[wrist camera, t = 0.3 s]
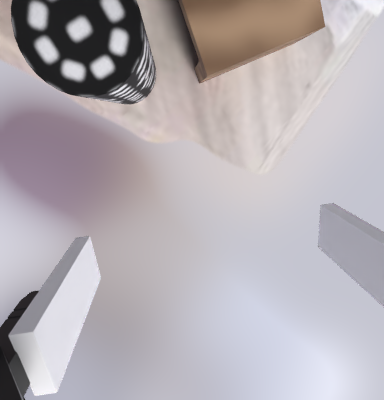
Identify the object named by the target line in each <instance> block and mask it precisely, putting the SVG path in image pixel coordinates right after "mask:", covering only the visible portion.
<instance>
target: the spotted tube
mask: <svg viewBox="0 0 384 400" xmlns="http://www.w3.org/2000/svg"><path fill="white" fill-rule="evenodd" d="M11 21H12V26H13V31H14V36H15V39H16V41H17V44H18V47H19V49H20V51H21V53H22V55H23V56H24V58H25V60H26V61H27V63H28V64H29V65H30V67H31V68H32V69H33V70H34V72H35V73H36V74H37V75H38V76H39V77H41V78H42V79H43V80H44V81H45V82H46V83H48V84H49V85H51V86H53V87H54V88H56V89H58V90H60V91H62V92H65V93H67V94H70V95H75V96H80V97H86V98H92V99H98V100H103V101H109V102H115V103H121V104H134V103H138V102H140V101H142V100H143V99H144V98H146V97H147V96H148V95H149V93H150V92H151V90H152V89H153V87H154V84H155V79H156V68H155V63H154V60H153V56H152V52H151V49H150V45H149V42H148V38H147V34H146V31H145V27H144V23H143V20H142V16H141V13H140V9H139V6H138V4H137V2H136V0H12V5H11Z"/></svg>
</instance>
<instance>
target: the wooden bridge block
mask: <svg viewBox="0 0 384 400" xmlns="http://www.w3.org/2000/svg"><path fill="white" fill-rule="evenodd" d="M179 3H180V6H181V9H182V12H183V15H184V18H185V21H186V24H187V27H188V29H189V32H190V35H191V38H192V41H193V44H194V47H195V50H196V53H197V56H198V59H199V62H198V64H197V65H196V67H195V72H196V75H197V77H198V80H199V83H202V82H204V81H206V80H209V79H211V78H214V77H216V76H218V75H221V74H223V73H225V72H228V71H230V70H232V69H235V68H237V67H240V66H242V65H244V64H247V63H249V62H251V61H254V60H256V59H259V58H261V57H263V56H266V55H268V54H270V53H273V52H275V51H278V50H280V49H282V48H285V47H287V46H289V45H292V44H294V43H296V42H298V41H299V40H301V39H303V38H305V37H307V36H309V35H311V34H312V33H314V32H316V31H318V30H320V29H322V28H323V27H325V23H324V18H323V13H322V7H321V2H320V0H179Z"/></svg>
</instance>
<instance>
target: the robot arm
mask: <svg viewBox="0 0 384 400" xmlns="http://www.w3.org/2000/svg"><path fill="white" fill-rule="evenodd" d="M318 247H319V248H320V249H321V250H322V251H323V252H324V253H325V254H326V255H327V256H328V257H330V258H331V259H332V260H333V261H334V262H335V263H336V264H337V265H338V266H339V267H340V268H342V269H343V270H344V271H345V272H346V273H347V274H348V275H349V276H350V277H351V278H352V279H354V280H355V281H356V282H357V283H358V284H359V285H360V286H361V287H362V288H363V289H364V290H365V291H366V292H368V293H369V294H370V295H371V296H372V297H373V298H374V299H375V300H376V301H377V302H378V303H380V304H381V305H382V306H383V307H384V232H383V231H381V230H379V229H378V228H376V227H374V226H372V225H371V224H369V223H367V222H365V221H364V220H362V219H360V218H358V217H357V216H355V215H353V214H352V213H350V212H348V211H346V210H345V209H343V208H341V207H339V206H338V205H336V204H334V203H332V204H324V205H321V208H320V225H319V240H318ZM100 279H101V276H100V272H99V269H98V265H97V261H96V257H95V253H94V249H93V246H92V242H91V238H90V236H86V237H79V238H76V239H75V240H74V241H73V243H72V244H71V246H70V247H69V249H68V250H67V251H66V253H65V254H64V256H63V257H62V259H61V260H60V262H59V263H58V265H57V266H56V267H55V269H54V270H53V272H52V273H51V275H50V276H49V277H48V279H47V280H46V282H45V283H44V285H43V286H42V288H41V289H40V290H39V291H33V292H31V293H29V294H28V295H27V296H26V297H24V298H23V299H22V300H21V301H20V302H19V303H18V305H17V306H16V307H15V309H14V311H13V312H12V313H11V314H10V315H9V317H8V319H7V320H6V321H5V322H4V323H3V324H2V326H1V327H0V400H25V398H24V395H25V393H26V390H27V389H28V387H29V385H30V386H31V388H32V391H33V393H34V395H35V396H38V395H45V394H50V393H57V392H58V389H59V386H60V384H61V381H62V379H63V376H64V373H65V371H66V368H67V366H68V363H69V360H70V358H71V355H72V353H73V350H74V347H75V345H76V342H77V339H78V337H79V334H80V332H81V329H82V326H83V324H84V321H85V319H86V316H87V313H88V311H89V308H90V306H91V303H92V300H93V298H94V295H95V292H96V290H97V287H98V285H99V282H100Z"/></svg>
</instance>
